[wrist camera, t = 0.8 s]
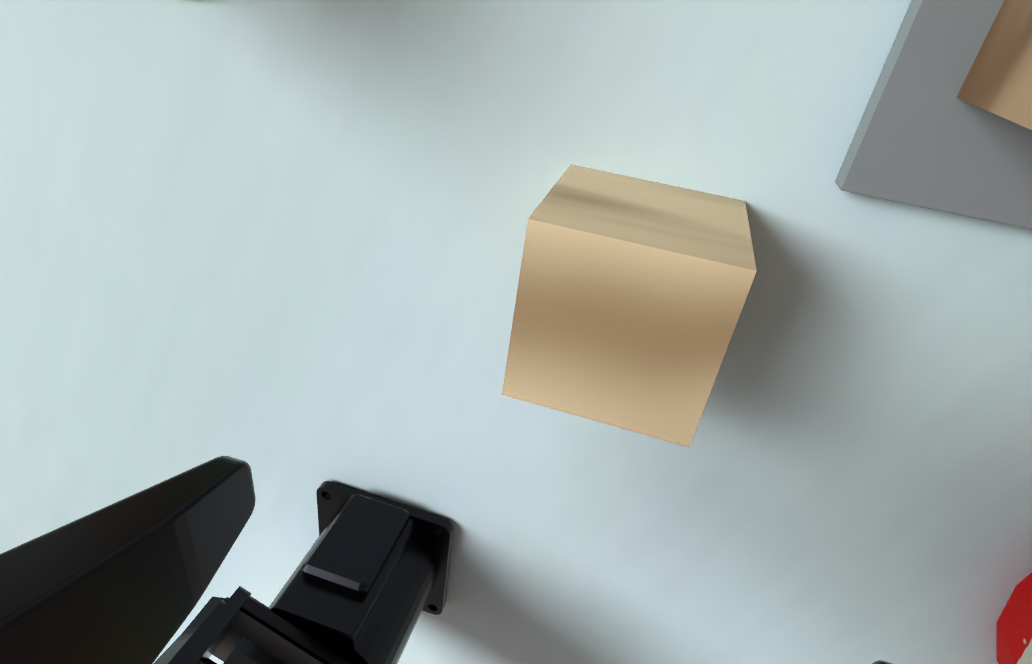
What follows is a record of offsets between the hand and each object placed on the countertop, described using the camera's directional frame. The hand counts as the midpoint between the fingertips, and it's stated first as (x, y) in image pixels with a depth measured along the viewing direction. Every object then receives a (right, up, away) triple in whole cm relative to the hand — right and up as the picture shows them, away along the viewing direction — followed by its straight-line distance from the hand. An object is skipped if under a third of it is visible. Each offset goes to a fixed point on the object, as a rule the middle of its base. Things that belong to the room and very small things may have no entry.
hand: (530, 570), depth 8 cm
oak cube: (+3, +6, +10) cm, 12 cm away
